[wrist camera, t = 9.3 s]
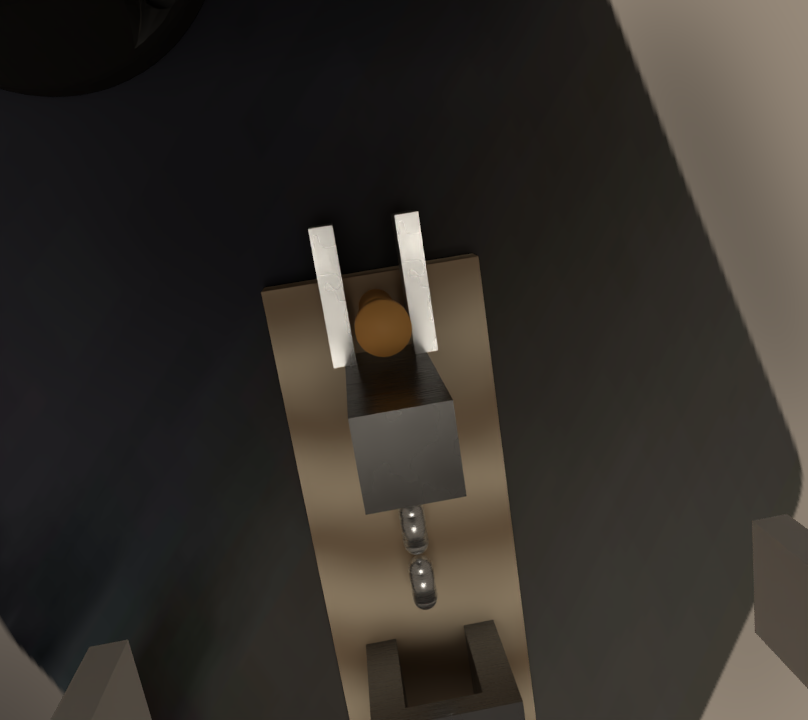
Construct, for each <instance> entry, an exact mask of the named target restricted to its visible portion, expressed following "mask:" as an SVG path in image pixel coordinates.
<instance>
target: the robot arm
mask: <svg viewBox="0 0 808 720" xmlns="http://www.w3.org/2000/svg"><path fill="white" fill-rule="evenodd" d="M203 2H204V0H0V89H3V90H7V91H11V92H16V93H21V94H26V95H34V96H48V97H61V96H75V95H82V94H88V93H93V92H97V91H100V90H104V89H107V88H110V87H113V86H116V85H118V84H120V83H123V82H125V81H127V80H129V79H131V78H133V77H135V76H136V75H138V74H140V73H142V72H143V71H145V70H146V69H148V68H149V67H151V66H152V65H153V64H155V63H156V62H157V61H158V60H160V59H161V58H162V57H163V56H164V55H165V54H166V53H167V52H168V51H169V50H170V49H172V48H173V46H174V45H175V44H176V43H177V42H178V41H179V40H180V39H181V37H182V36H183V35H184V33H185V32H186V31H187V29H188V28H189V27H190V25H191V23H192V22H193V20H194V19H195V17H196V15H197V14H198V12H199V10H200V8H201V6H202V4H203ZM752 531H753V572H754V612H755V633H756V634H757V635H758V636H759V637H760V638H761V639H762V640H763V641H764V642H765V643H766V644H767V645H768V647H769V648H770V649H771V650H772V651H773V652H774V653H775V654H776V655H777V656H778V657H779V658H780V659H781V660H782V661H783V663H784V664H785V665H786V666H787V667H788V668H789V669H790V670H791V671H792V672H793V673H794V674H795V675H796V676H797V677H798V678H799V679H800V681H801V682H802V683H803V684H804V685H805V686H806V687H807V688H808V529H807V528H805V527H804V526H802V525H801V524H800V523H798V522H797V521H796V520H794V519H793V518H791V517H790V516H789V515H787V514H785V515H779V516H774V517H769V518H764V519H759V520H753V521H752ZM51 720H152V719H151V716H150V713H149V709H148V706H147V702H146V699H145V696H144V692H143V689H142V686H141V682H140V679H139V676H138V672H137V669H136V665H135V662H134V659H133V655H132V652H131V649H130V645H129V642H128V640H124V641H119V642H113V643H108V644H103V645H98V646H92V647H89V649H88V651H87V653H86V654H85V656H84V658H83V660H82V662H81V664H80V666H79V668H78V669H77V671H76V673H75V675H74V677H73V679H72V681H71V682H70V684H69V686H68V688H67V690H66V692H65V694H64V696H63V697H62V699H61V701H60V703H59V705H58V707H57V709H56V711H55V712H54V714H53V716H52V718H51Z"/></svg>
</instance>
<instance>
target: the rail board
mask: <svg viewBox="0 0 808 720" xmlns="http://www.w3.org/2000/svg"><path fill="white" fill-rule="evenodd" d="M425 263H426V270H427V277H428V284H429V291H430V298H431V305H432V311H433V318H434V325H435V332H436V339H437V346H438V350H437V351H431V352H427V353H428V355H429V357H430V359H431V361H432V362H433V364H434V366H435V368H436V370H437V372H438V373H439V375H440V377H441V379H442V381H443V383H444V384H445V386H446V388H447V390H448V392H449V393H450V395H451V397H452V399H453V403H454V410H455V417H456V424H457V431H458V438H459V445H460V453H461V460H462V467H463V474H464V481H465V488H466V495H467V496H466V497H460V498H455V499H449V500H444V501H439V502H433V503H428V504H422V506H423V508H424V514H425V520H426V526H427V533H428V539H429V544H428V548H427V549H426V551H425V552H423V553H422V554H419V555H424V556H426V557H428V558H429V559H430V560H431V562H432V565H433V570H434V577H435V583H436V589H437V595H438V599H437V602H436V604H435V606H434V607H433V608H431V609H429V610H422V609H420V608H418V607H417V606H416V605H415V603H414V601H413V596H412V590H411V585H410V579H409V573H408V564H409V561H410V560H411V559H412V558H413V557H414V556H416V555H413V554H410V553H409V552H408V551H407V550H406V549H405V547H404V543H403V538H402V532H401V526H400V520H399V514H398V509H395V510H390V511H384V512H379V513H374V514H368V515H366V514H365V509H364V503H363V498H362V493H361V487H360V482H359V476H358V471H357V465H356V460H355V455H354V449H353V444H352V438H351V433H350V427H349V422H348V411H347V391H346V371H345V366H344V367H338V368H334V366H333V361H332V356H331V350H330V345H329V339H328V334H327V329H326V323H325V318H324V313H323V307H322V302H321V296H320V291H319V286H318V280H317V279H313V280H307V281H301V282H295V283H289V284H283V285H277V286H271V287H265V288H264V289H263V290H262V292H261V294H262V299H263V304H264V309H265V314H266V318H267V323H268V328H269V333H270V338H271V342H272V347H273V352H274V357H275V362H276V367H277V371H278V376H279V381H280V386H281V391H282V395H283V400H284V405H285V410H286V415H287V419H288V424H289V429H290V434H291V439H292V444H293V448H294V453H295V458H296V463H297V468H298V472H299V477H300V482H301V487H302V492H303V496H304V501H305V506H306V511H307V516H308V521H309V525H310V530H311V535H312V540H313V545H314V549H315V554H316V559H317V564H318V569H319V574H320V578H321V583H322V588H323V593H324V598H325V602H326V607H327V612H328V617H329V622H330V626H331V631H332V636H333V641H334V646H335V651H336V655H337V660H338V665H339V670H340V675H341V679H342V684H343V689H344V694H345V699H346V703H347V708H348V713H349V718H350V720H371V717H370V701H369V686H368V670H367V655H366V644H370V643H376V642H381V641H386V640H391V639H396V641H397V647H398V652H399V658H400V663H401V669H402V674H403V680H404V685H405V691H406V697H407V702H408V708H409V707H414V706H419V705H424V704H429V703H434V702H439V701H444V700H449V699H454V698H459V697H464V696H469V695H474V692H473V685H472V679H471V672H470V665H469V659H468V652H467V645H466V639H465V632H464V626H463V625H468V624H473V623H478V622H483V621H489V620H494V623H495V626H496V629H497V631H498V634H499V637H500V640H501V642H502V645H503V648H504V651H505V653H506V656H507V659H508V662H509V664H510V667H511V670H512V673H513V675H514V678H515V681H516V684H517V686H518V689H519V692H520V695H521V698H522V700H523V706H524V713H525V720H536V716H535V708H534V699H533V691H532V683H531V675H530V667H529V659H528V651H527V643H526V635H525V627H524V619H523V611H522V603H521V595H520V587H519V579H518V571H517V563H516V555H515V547H514V539H513V531H512V523H511V515H510V507H509V499H508V491H507V483H506V475H505V467H504V459H503V450H502V442H501V434H500V426H499V418H498V410H497V402H496V394H495V386H494V378H493V370H492V362H491V354H490V346H489V338H488V330H487V322H486V314H485V306H484V298H483V290H482V282H481V274H480V266H479V258H478V256H477V255H475V254H473V253H471V254H465V255H459V256H453V257H447V258H441V259H435V260H428V261H425ZM342 280H343V286H344V292H345V297H346V303H347V309H348V314H349V320H350V326H351V331H352V337H353V343H354V348H355V354H356V353H362V352H366V351H365V350H364V349H363V348H362V347H361V346H360V344H359V343H358V341H357V338H356V334H355V318H356V315H357V313H358V311H359V301H360V298H361V297H362V295H363V294H364V293H366V292H367V291H369V290H372V289H380V290H383V291H385V292H386V293H388V294H389V295H390V297H391V299H392V300H394V301H396V302H398V303H399V304H401V305H402V306H403V307H404V309H405V303H404V297H403V290H402V284H401V277H400V271H399V265H398V266H392V267H386V268H380V269H374V270H368V271H362V272H356V273H350V274H344V275H342ZM408 344H411V342H410V340H409V342H408ZM408 344H407V345H408Z"/></svg>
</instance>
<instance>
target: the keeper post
mask: <svg viewBox="0 0 808 720" xmlns="http://www.w3.org/2000/svg"><path fill="white" fill-rule="evenodd" d="M411 333H412V324H411V320H410V317H409V315H408V314H407V312H406V310H405V309H404V307H403V306H402V305H401V304H399V303H398V302H396V301H394V300H392V299H391V297H390V295H389V294H388V293H386V292H385V291H383V290H380V289H372V290H369V291H367V292H366V293H364V294H363V295H362V297H361V298H360V301H359V311H358V313H357V315H356V318H355V334H356V338H357V341H358V343H359V344H360V346H361V347H362V348H363V349H364V350H365V351H366V352H368V353H369V354H372V355H374V356H378V357H388V356H392V355H395V354H397V353H399V352H400V351H401V350H403V349H404V348H405V346H406V345H407V344H408V342H409V340H410V337H411Z"/></svg>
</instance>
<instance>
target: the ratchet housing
mask: <svg viewBox="0 0 808 720" xmlns="http://www.w3.org/2000/svg"><path fill="white" fill-rule="evenodd" d="M463 626H464V632H465V639H466V645H467V652H468V659H469V665H470V672H471V679H472V685H473V692H474V695H469V696H464V697H459V698H454V699H449V700H444V701H439V702H434V703H429V704H424V705H419V706H414V707H409V708H408V702H407V697H406V691H405V685H404V680H403V674H402V669H401V663H400V658H399V652H398V647H397V641H396V639H391V640H386V641H381V642H376V643H370V644H366V655H367V670H368V686H369V701H370V717H371V720H525V713H524V706H523V700H522V698H521V695H520V692H519V689H518V686H517V684H516V681H515V678H514V675H513V673H512V670H511V667H510V664H509V662H508V659H507V656H506V653H505V651H504V648H503V645H502V642H501V640H500V637H499V634H498V631H497V629H496V626H495V623H494V620H489V621H483V622H478V623H473V624H468V625H463Z"/></svg>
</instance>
